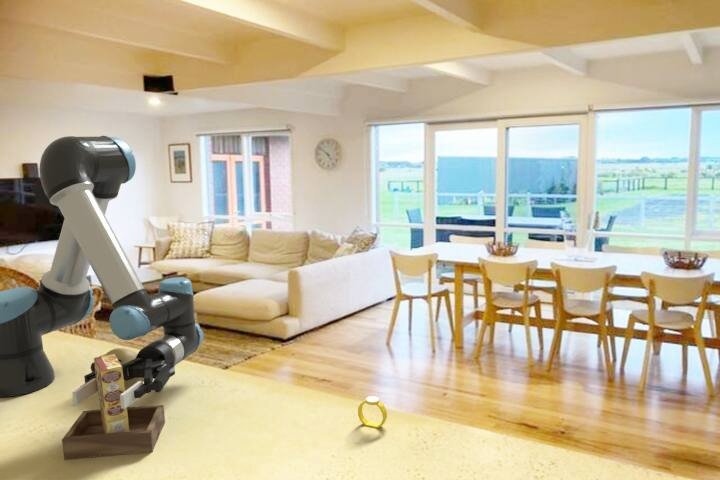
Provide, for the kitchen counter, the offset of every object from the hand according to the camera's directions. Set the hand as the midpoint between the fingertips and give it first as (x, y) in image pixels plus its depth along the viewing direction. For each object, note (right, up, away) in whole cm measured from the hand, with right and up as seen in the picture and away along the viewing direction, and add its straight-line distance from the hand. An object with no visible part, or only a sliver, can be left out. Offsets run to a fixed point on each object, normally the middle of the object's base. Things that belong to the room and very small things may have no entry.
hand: (98, 400), depth 110 cm
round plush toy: (-8, -6, +30) cm, 31 cm away
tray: (+1, -10, +6) cm, 11 cm away
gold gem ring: (+52, -8, +9) cm, 54 cm away
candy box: (+1, -9, +6) cm, 11 cm away
